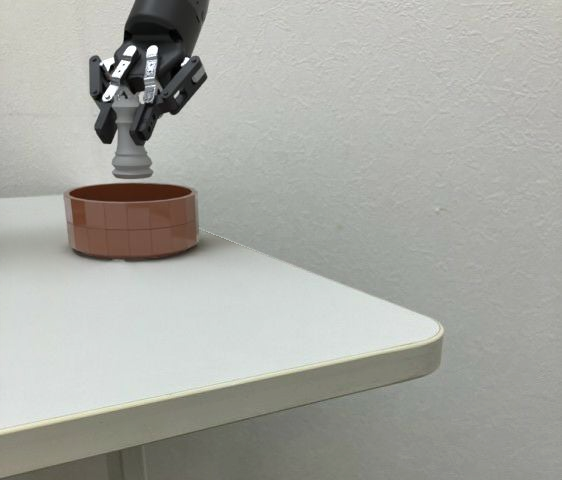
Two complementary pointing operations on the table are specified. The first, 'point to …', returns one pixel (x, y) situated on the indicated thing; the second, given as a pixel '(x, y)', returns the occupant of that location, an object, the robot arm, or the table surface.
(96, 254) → the bowl
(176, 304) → the table surface
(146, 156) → the rook chess piece
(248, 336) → the table surface
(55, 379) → the table surface
